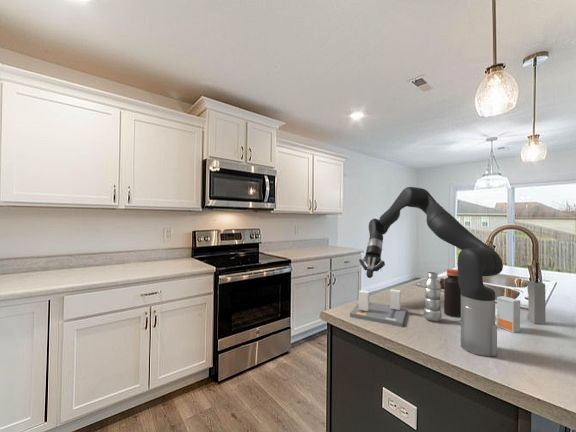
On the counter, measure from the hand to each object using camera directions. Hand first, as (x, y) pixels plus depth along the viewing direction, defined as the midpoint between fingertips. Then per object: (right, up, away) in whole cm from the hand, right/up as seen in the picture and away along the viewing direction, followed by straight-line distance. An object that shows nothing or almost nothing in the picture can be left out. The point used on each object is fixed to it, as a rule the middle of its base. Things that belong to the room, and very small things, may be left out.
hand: (369, 276), depth 127 cm
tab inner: (+10, -13, -7) cm, 17 cm away
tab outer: (-5, -13, -9) cm, 16 cm away
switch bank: (+2, -15, -9) cm, 17 cm away
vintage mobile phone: (+65, -15, -17) cm, 69 cm away
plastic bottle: (+22, -15, -16) cm, 31 cm away
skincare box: (+47, -15, -24) cm, 55 cm away
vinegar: (+35, -15, -9) cm, 39 cm away
